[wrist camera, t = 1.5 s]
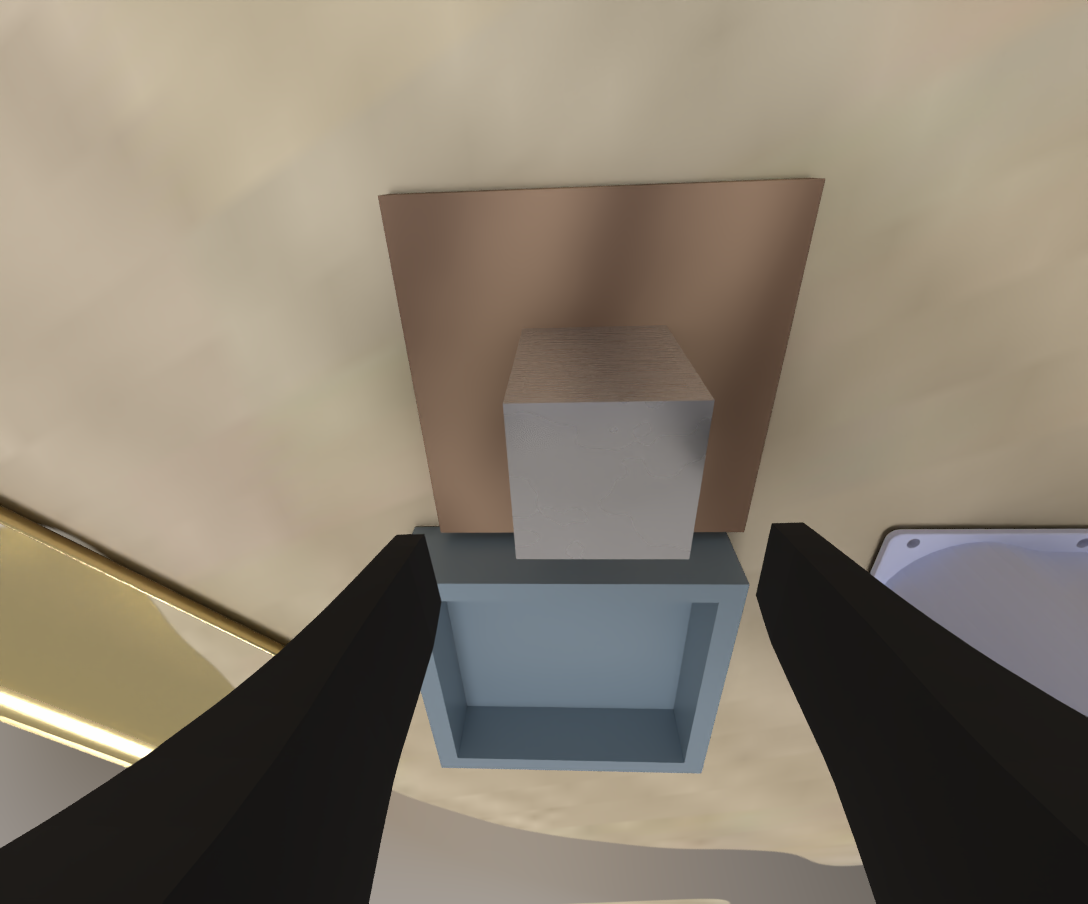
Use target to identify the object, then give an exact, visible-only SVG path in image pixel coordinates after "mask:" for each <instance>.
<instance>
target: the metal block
mask: <svg viewBox="0 0 1088 904" xmlns="http://www.w3.org/2000/svg"><path fill="white" fill-rule="evenodd" d="M714 401H715V400H714V398H713V397H712V395H711V394H710V392H709V391H708V389H707V388H706V386H705V385H704V383H703V381H702V380H701V378H700V377H699V375H698V374H697V372H696V371H695V369H694V367H693V366H692V364H691V363H690V361H689V360H688V358H687V357H686V355H685V354H684V352H683V350H682V349H681V347H680V346H679V344H678V343H677V341H676V340H675V338H674V336H673V335H672V333H671V332H670V330H669V329H668V327H667V326H666V325H653V326H610V327H568V328H526V329H522V333H521V337H520V340H519V344H518V348H517V352H516V355H515V359H514V363H513V367H512V371H511V374H510V378H509V382H508V386H507V390H506V393H505V397H504V401H503V412H504V424H505V435H506V447H507V458H508V470H509V482H510V493H511V505H512V516H513V528H514V540H515V551H516V559H689V557H690V551H691V545H692V539H693V532H694V526H695V520H696V514H697V507H698V501H699V495H700V489H701V482H702V476H703V470H704V464H705V458H706V451H707V445H708V439H709V433H710V426H711V420H712V414H713V408H714Z"/></svg>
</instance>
